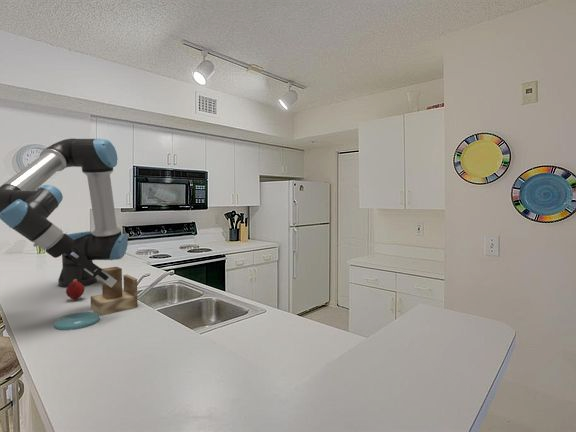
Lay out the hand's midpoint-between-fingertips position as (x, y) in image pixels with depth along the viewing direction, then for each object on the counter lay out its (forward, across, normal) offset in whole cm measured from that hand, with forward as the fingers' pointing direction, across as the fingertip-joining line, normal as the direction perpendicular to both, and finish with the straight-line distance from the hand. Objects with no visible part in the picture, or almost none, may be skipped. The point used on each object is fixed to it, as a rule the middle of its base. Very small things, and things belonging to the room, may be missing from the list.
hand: (107, 280), depth 115 cm
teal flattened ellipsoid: (0, +7, -15) cm, 16 cm away
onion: (+3, -20, -11) cm, 23 cm away
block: (+6, -1, -3) cm, 6 cm away
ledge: (+8, -1, -6) cm, 10 cm away
